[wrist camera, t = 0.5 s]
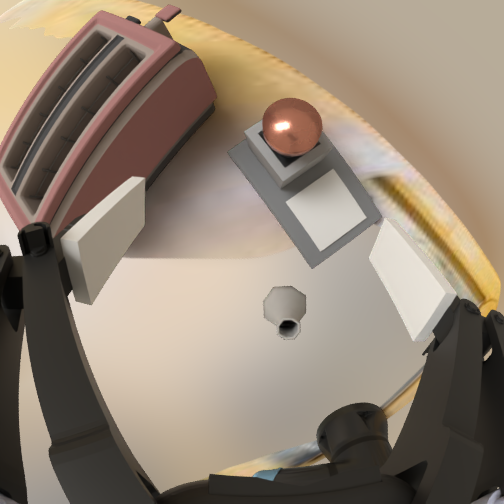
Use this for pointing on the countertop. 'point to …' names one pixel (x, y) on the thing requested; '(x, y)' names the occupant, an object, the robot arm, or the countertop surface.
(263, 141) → the press
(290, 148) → the copper ovoid
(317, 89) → the countertop surface
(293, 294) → the flask
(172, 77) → the toaster
